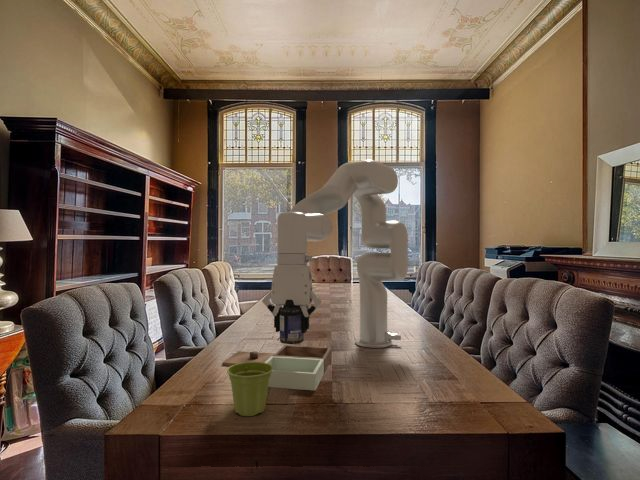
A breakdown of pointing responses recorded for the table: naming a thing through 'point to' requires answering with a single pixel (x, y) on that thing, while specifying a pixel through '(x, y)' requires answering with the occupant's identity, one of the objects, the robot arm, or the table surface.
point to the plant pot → (249, 386)
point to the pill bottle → (291, 323)
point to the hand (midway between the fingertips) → (291, 330)
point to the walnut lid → (247, 358)
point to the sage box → (295, 372)
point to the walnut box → (306, 353)
